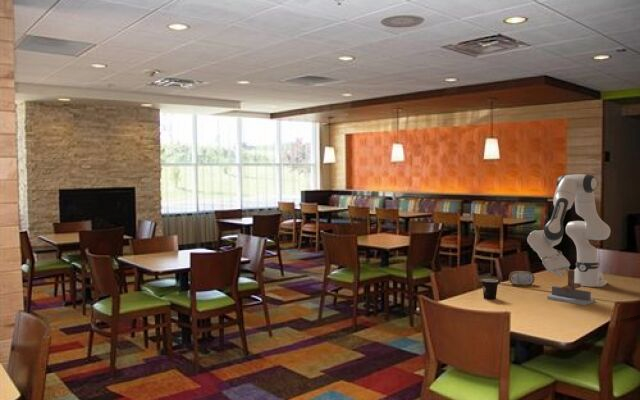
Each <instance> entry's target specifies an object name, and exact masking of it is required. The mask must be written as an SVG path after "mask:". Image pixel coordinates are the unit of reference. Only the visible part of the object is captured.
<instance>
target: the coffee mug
mask: <svg viewBox="0 0 640 400" xmlns="http://www.w3.org/2000/svg"><path fill="white" fill-rule="evenodd" d="M498 283H499V280H498V279H493V278H483V279H482V280H481V286H482V294H483V299H484V300H488V301H489V300H490V301H494V300H495V301H496V300H497V295H498V294H497V293H498V287H499V286H498Z"/></svg>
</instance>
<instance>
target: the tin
mask: <svg viewBox="0 0 640 400" xmlns="http://www.w3.org/2000/svg"><path fill="white" fill-rule="evenodd" d="M508 281H509V282H510V283H511V284H512V285H515V286H531V285H533V283H534V282H535V276H534V274H533V273H532V272H531V271H527V270H525V271H524V270H522V271H521V270H515V271H511V272H510V273H509V275H508Z"/></svg>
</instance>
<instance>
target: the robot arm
mask: <svg viewBox="0 0 640 400" xmlns="http://www.w3.org/2000/svg"><path fill="white" fill-rule="evenodd" d="M597 184H598V182H597V178H596V177H595V176H594V175H593V174H580V173H576V174H574V173H573V174H562V175H560V176H558V178H557V179H556V189H555V191H554V195H553V203H552V204H553V207H554V208H553V211H552V214H551V217H550V219H549V220H548V221H547V223H546V224H545V225H544V228H543V229H540V230H537V229H535V230H532V231H531V232H530V233H529V234H528V236H526V237H527V238H526V241H527V244H528V245H529V246H530V248H532V250H533V252H536V253H537V255H538V257H539V259H540V260H541V261H542V265H543V267H544V268H545V270H546V271H547V272H548V273H554V274H556V275H557V276H558V277H560V278H564V276H565V275H564V274H563V273H561V272H560V271H562V270H563V271H565V272H566V274H567V275H568V271H569V270H571V269H570V266H571V263H570V261H569V260H568V259H567V258H566V257H565V256H564V254H563V252H562V251H561V250H558V249H555V248H554V247H555V246H557V245H559V244H560V243H561V242H562V239H563V235H564V232H565V234H566V235H567V236H568V237H569V238H570V239H571V240H572V241H573V243H574V245H575V248H576V260H575V261H576V262H575V269H574V270H573V271H575V276H574V283H581V287H595V288H596V287H599V288H601V287H603V288H604V286H606V285H607V284H608V281H607V280H604V274H603V272H602V271H601V269H600V268H599V266H600V261H598V250H597V248H596V247H595V246H594V245H592V244H591V243H590V241H589V240H593V241H602V240H607V239H608V238H609V237H610V235H611V227H610V226H609V225H608V224H607V223H606V222H604V220H602V218H601V217H600V216H599V214H598V212H597V208H596V207H597V206H596V199H595V198H596V197H595V192H594V191H595V190H596V188H597V186H598V185H597ZM573 205H574V208H575V214H577V216H579V217H580V218H582V219H583V220H584V221H583V220H572V221H568V222H567V224H566V226H565V228H564V220H565V216H566V214H567V211H568V210H570V209H571V208H572V207H573Z"/></svg>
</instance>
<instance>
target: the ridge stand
mask: <svg viewBox="0 0 640 400" xmlns="http://www.w3.org/2000/svg"><path fill="white" fill-rule="evenodd" d="M561 287H562V286H555V285H552V286H551V294H549V295H547V296H546V299H547V298H548V300H551V299H552V300H551V301H558V302H564V303H569V304H574V305H580V306H587V305H590V304H592V303H594V302H596V298H593V297H592V292H591V291H586V290H581V289H577V288H576V289H573V290H570V291H567V292H563V291H561Z"/></svg>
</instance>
